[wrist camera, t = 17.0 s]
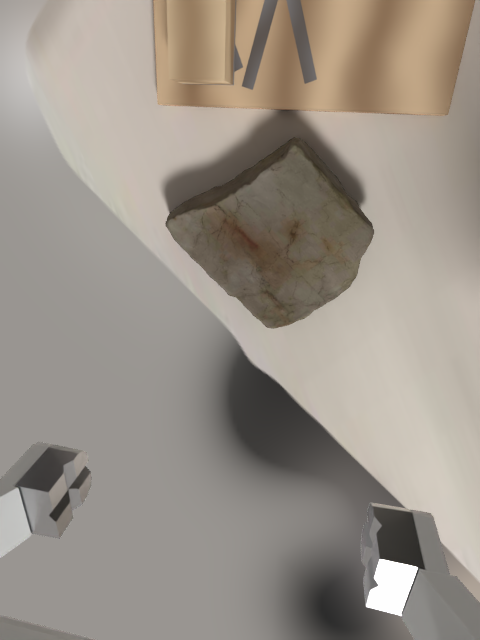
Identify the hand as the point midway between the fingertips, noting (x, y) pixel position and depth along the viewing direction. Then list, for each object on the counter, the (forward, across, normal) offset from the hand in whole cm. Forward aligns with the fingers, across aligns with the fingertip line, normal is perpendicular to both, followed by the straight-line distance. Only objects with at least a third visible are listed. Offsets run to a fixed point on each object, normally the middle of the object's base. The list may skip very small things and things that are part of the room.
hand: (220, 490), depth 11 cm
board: (+31, -1, +16) cm, 35 cm away
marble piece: (+32, -2, 0) cm, 32 cm away
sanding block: (+30, -8, +16) cm, 35 cm away
